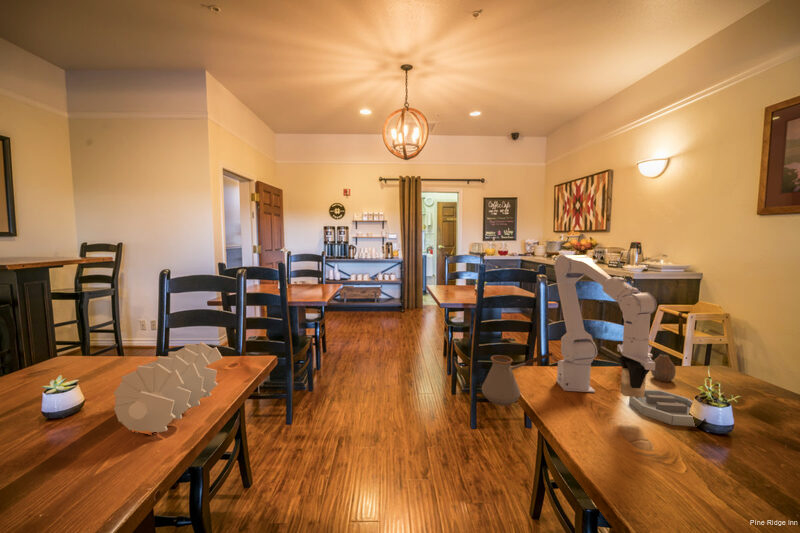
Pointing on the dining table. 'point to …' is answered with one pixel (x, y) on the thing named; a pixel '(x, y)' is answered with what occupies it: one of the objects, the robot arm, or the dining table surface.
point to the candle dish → (661, 414)
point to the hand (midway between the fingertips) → (633, 385)
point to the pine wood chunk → (627, 388)
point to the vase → (663, 369)
